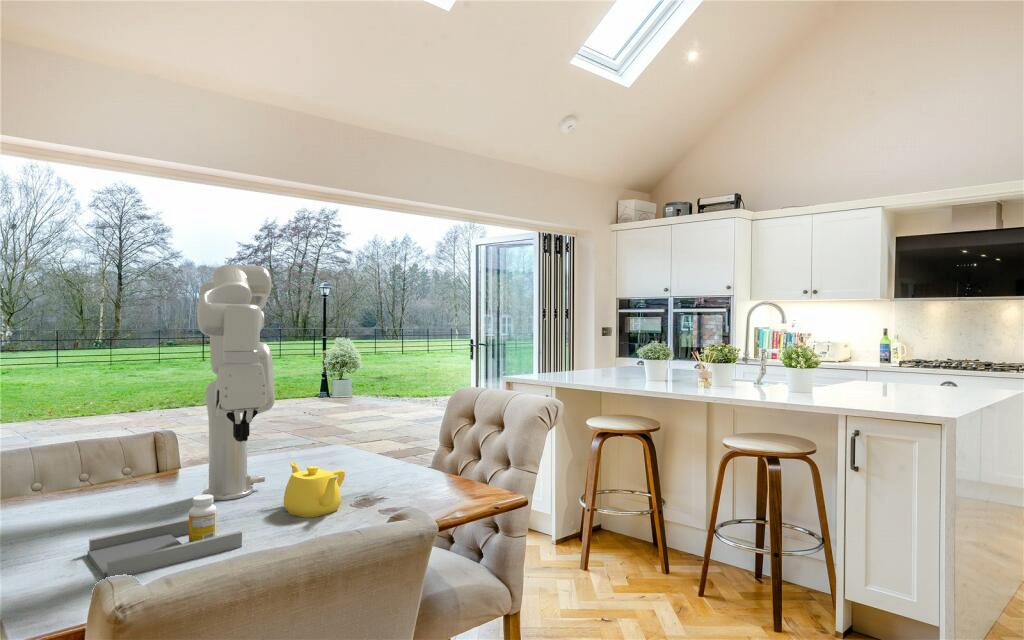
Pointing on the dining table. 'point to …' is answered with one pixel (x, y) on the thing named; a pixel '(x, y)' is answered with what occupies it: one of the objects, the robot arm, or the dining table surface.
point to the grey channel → (153, 548)
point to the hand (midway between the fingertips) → (241, 440)
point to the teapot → (313, 491)
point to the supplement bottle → (202, 518)
